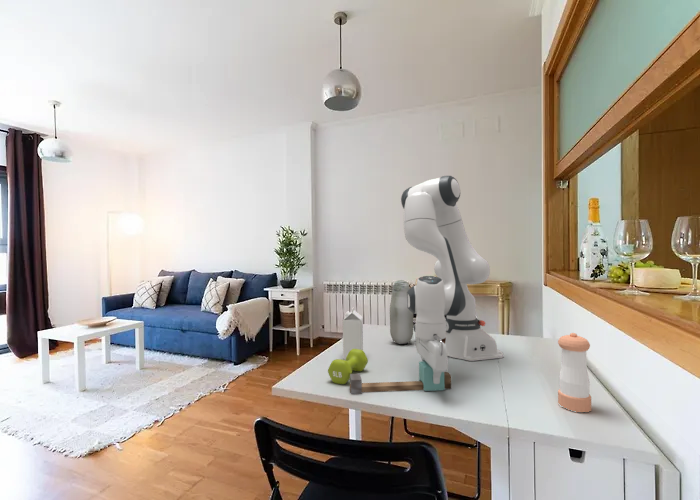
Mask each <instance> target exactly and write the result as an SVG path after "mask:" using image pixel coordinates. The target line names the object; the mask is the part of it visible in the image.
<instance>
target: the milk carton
mask: <svg viewBox="0 0 700 500" xmlns="http://www.w3.org/2000/svg"><path fill="white" fill-rule="evenodd" d="M363 320H364V319H363V316H362V315H361V314H360V313H358V312H357V310H355V307H354V306H353V307H352V309H351V311H349V310H348V311H346V312H345V313H344V318H343V320H342V356H343V357H342V358H343V359H342V360H346V357H347V355H348V353H349V352H350V350H352V349H360V350H363V351H364V339H363V338H364V336H363V335H364V334H363V333H364V330H363V329H364V327H363V325H364V323H363V322H364V321H363Z"/></svg>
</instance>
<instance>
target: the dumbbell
mask: <svg viewBox="0 0 700 500" xmlns="http://www.w3.org/2000/svg"><path fill="white" fill-rule="evenodd" d="M368 363H369V359H368V357H367V355H366V353H365V351H364V349H363V350H360V349H352V350H350V352H349V353H348V355H347V357H346V360H344V359H339V358H336V359H334V360H332V361H331V363H330V365H329V366H328V368H327V373H328V376H329V378H330V380H331V381H332V382H333V383H334V384H338V385H346V384H347V383H348V381H350V374H353V372H362V371H364V370H365V369H366V366H367V365H368Z"/></svg>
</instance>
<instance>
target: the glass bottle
mask: <svg viewBox="0 0 700 500" xmlns="http://www.w3.org/2000/svg"><path fill="white" fill-rule="evenodd" d="M410 288H411V287H410V284H409V283H408V282H407V281H406V280H402V279H401V280H397V281H395V282H394V283H393V284H392V291H391V299H390V303H389V304H390V305H389V332H390V333H389V334H390V336H391V339H392V340H393V342H394V343H395V344H398V345H405V344H408V343H410V341H412V339H413V336H414V328H413V326H414V313H412V312H411V311H410V310H409V309H408V308H407V292H408V290H409V289H410Z"/></svg>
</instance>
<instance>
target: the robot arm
mask: <svg viewBox="0 0 700 500" xmlns="http://www.w3.org/2000/svg"><path fill="white" fill-rule="evenodd" d="M460 198H461V187H460V184H459V182H458V180H457V178H455V177H454V176H452V175H442V176H439V177H437V178H432V179H428V180H425V181H423V182H421V183H418V184H416V185H413V186H410V187H408V188H406V189H405V190H403V192H402V195H401V197H400V200H401V201H400V202H401V206H402V209H403V230H404V231H403V232H404V237H405V240H406V242H407V243H408V244H409V245H410V246H412V247H413V248H414V249H416V250H419V251H422V252H424V253H427V254H429V255H431V256H434V257H435V258H436V259H437V260H436V262H435V264H434V268H433V269H434V274H435V276H433V275H424V276H420V277H418V278H417V281H416V284H415V285H413V286H411V287H410V289H409V290H408V292H407V308H408V309H409V310H410V311H411V312H412V313H413V315H414V314H416V317H415V323H413V332H414V336H415V348H416V353H417V354H418V355H419V356H420V357H421V361H426V362H427V363H428V364H429V366H430V367H431V368H432V369H433V376H432V381H433V383H434V384H439V383H440V376H441V373H442V372H448V369H449V363H448V362H449V361H448V360H449V359H448V357H450V358H453V359H455V358H456V359H460V360H464V361H465V360H466V361H469V362H475V361H481V360H482V361H484V360H492V359H502V358H504V353H503V352H502V351H501V350H499V349H498V346H497V343H496V340H495V338H494V337H493V336H491V335H490V334H489V333H487V332H486V331H485V330H484V329H482V327H485V326H486V324H487V323H486V322H485V320H481V319H478V318H477V310H476V308H477V306H476V305H477V303H476V302H477V301H476V297H475V296H474V295H473V294H472V293H471V291H470V290H469V287H468V285H478V284H482V283H484V282H486V281H487V280H488V278H489V276H490V275H491V268H490V267H491V266H490V264H489V262H488V261H487V260H486V259H485V258H483V256H481V255H480V254H479V253H478V252H477V251H476V249H475V248H474V246H473V245H472V243H471V242H470V240H469V238H468V235H467V231H466V228H465V226H464V222H463V218H462V216H461V212H460V210H459V207H458V204H457V203H458V202H459V199H460ZM445 316H446V317H445ZM481 326H482V327H481ZM444 338H446V340H445V344H444V343H443V342H442V339H444Z"/></svg>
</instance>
